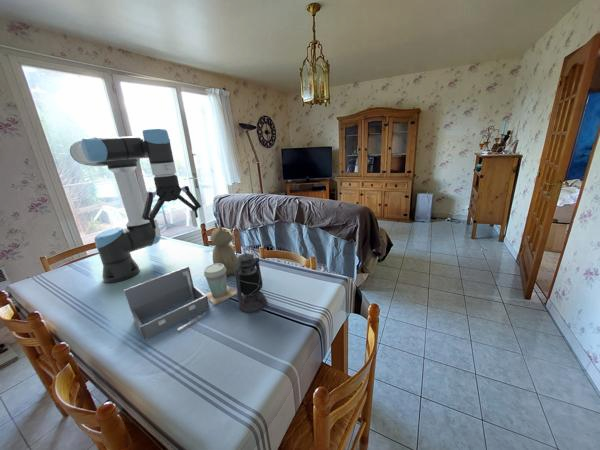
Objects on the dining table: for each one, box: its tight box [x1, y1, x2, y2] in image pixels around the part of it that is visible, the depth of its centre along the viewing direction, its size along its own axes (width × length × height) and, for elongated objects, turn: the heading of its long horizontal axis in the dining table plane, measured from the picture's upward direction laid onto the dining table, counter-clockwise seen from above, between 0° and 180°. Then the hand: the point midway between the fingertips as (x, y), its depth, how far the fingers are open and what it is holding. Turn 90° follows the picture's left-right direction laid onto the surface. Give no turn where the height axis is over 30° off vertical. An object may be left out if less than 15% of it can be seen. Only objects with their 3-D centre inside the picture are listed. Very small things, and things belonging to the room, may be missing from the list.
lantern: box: [233, 229, 268, 315], centre depth 88 cm, size 12×11×30 cm
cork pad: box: [204, 284, 238, 306], centre depth 101 cm, size 10×10×1 cm
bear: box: [209, 221, 240, 277], centre depth 116 cm, size 21×16×25 cm
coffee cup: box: [203, 263, 228, 298], centre depth 99 cm, size 8×8×12 cm
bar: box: [176, 311, 206, 333], centre depth 86 cm, size 10×1×1 cm, turn 144°
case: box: [123, 265, 210, 341], centre depth 89 cm, size 15×22×13 cm, turn 134°
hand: (177, 231), depth 95 cm, fingers open, 13 cm apart
